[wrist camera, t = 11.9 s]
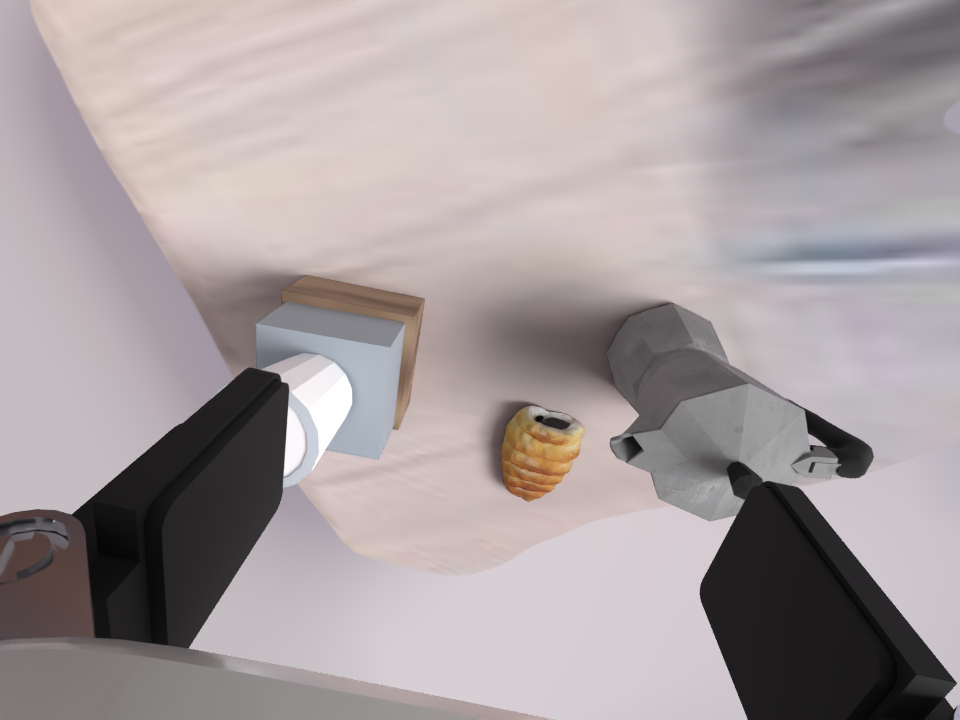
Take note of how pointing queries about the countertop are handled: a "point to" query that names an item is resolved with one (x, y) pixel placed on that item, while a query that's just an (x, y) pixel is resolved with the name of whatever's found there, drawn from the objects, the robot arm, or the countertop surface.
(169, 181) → the countertop surface
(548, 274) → the countertop surface
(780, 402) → the coffeepot
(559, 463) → the pastry
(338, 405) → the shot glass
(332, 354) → the grey top block
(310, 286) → the walnut base block
